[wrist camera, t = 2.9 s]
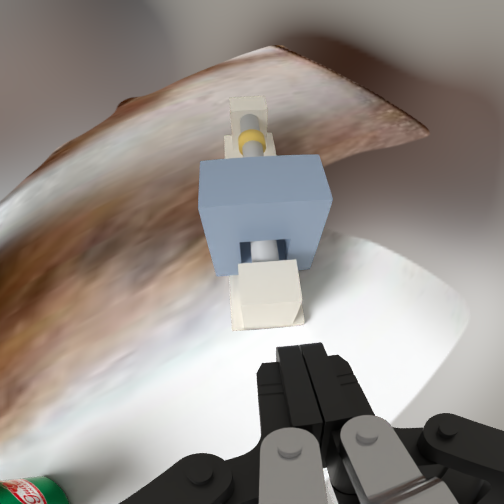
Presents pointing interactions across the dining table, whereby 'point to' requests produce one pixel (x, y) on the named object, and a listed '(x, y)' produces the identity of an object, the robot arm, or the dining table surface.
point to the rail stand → (263, 252)
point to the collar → (263, 207)
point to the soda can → (31, 491)
